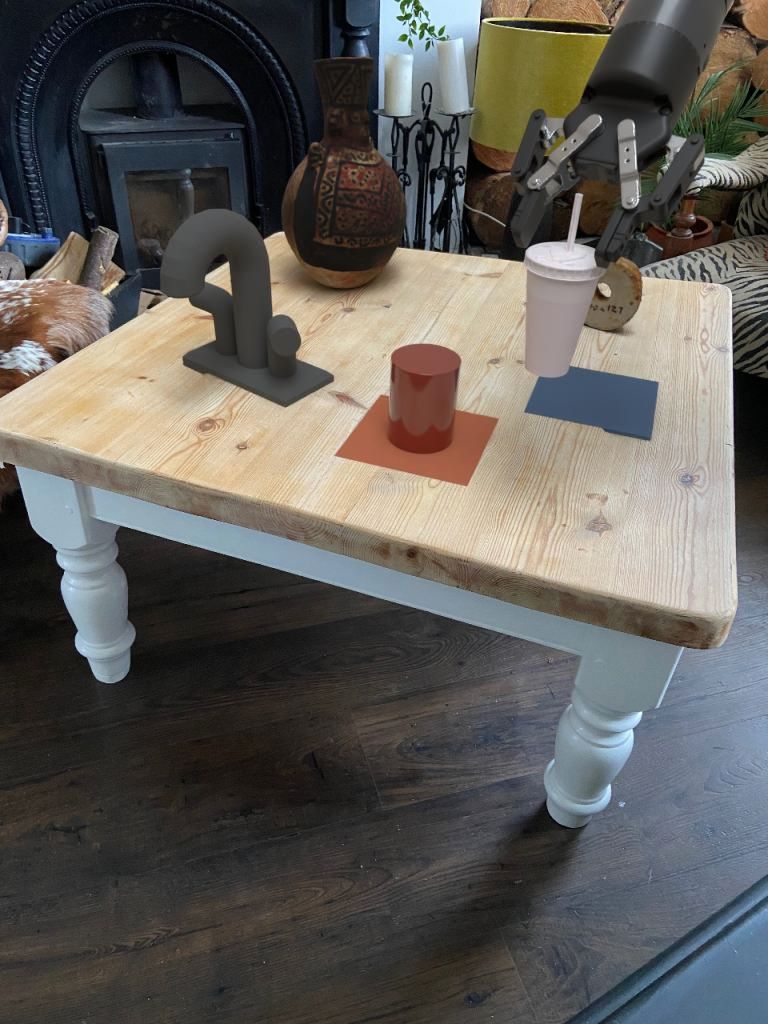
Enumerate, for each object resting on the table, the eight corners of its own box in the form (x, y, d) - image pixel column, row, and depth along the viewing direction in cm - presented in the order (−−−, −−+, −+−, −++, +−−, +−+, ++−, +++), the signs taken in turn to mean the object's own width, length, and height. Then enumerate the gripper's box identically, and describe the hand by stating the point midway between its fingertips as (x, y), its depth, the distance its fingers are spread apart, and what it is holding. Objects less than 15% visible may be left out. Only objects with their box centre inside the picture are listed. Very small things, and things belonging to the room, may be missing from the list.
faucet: (130, 385, 87) (95, 206, 74) (230, 341, 97) (213, 177, 84) (239, 438, 78) (220, 246, 66) (336, 384, 88) (335, 209, 76)
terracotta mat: (380, 397, 86) (380, 394, 86) (498, 421, 83) (499, 418, 83) (334, 458, 76) (333, 455, 75) (466, 489, 72) (467, 486, 72)
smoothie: (594, 363, 65) (632, 193, 56) (568, 392, 60) (604, 213, 52) (526, 344, 67) (552, 180, 59) (496, 371, 63) (519, 198, 54)
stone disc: (637, 330, 104) (655, 259, 98) (627, 339, 102) (645, 266, 95) (568, 311, 109) (582, 242, 103) (557, 319, 106) (570, 249, 100)
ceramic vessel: (354, 314, 105) (356, 69, 87) (257, 287, 112) (240, 55, 94) (426, 272, 119) (441, 55, 101) (337, 250, 126) (335, 43, 108)
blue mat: (544, 363, 95) (545, 361, 94) (658, 384, 91) (658, 381, 91) (523, 415, 84) (523, 411, 84) (650, 440, 81) (651, 437, 80)
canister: (438, 415, 83) (445, 340, 77) (463, 448, 77) (472, 370, 72) (378, 424, 81) (381, 347, 75) (400, 458, 75) (404, 378, 70)
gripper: (559, 9, 57) (462, 204, 56) (753, 26, 50) (645, 246, 50) (575, 82, 63) (489, 256, 63) (749, 104, 57) (653, 300, 56)
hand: (558, 251), depth 56 cm, fingers closed on smoothie, 6 cm apart
